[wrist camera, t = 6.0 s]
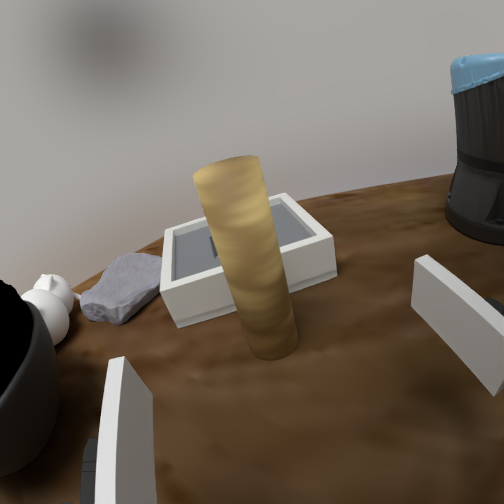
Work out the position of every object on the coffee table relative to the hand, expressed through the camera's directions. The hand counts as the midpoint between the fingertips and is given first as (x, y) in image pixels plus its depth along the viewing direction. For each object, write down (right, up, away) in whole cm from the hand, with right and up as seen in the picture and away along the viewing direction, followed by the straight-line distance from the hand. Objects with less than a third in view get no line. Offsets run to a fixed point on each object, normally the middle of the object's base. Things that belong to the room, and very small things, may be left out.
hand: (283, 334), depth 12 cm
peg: (+1, -5, +15) cm, 15 cm away
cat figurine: (-27, -7, +24) cm, 37 cm away
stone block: (-17, -3, +27) cm, 33 cm away
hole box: (-2, +2, +27) cm, 27 cm away
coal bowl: (-24, -15, +8) cm, 29 cm away
